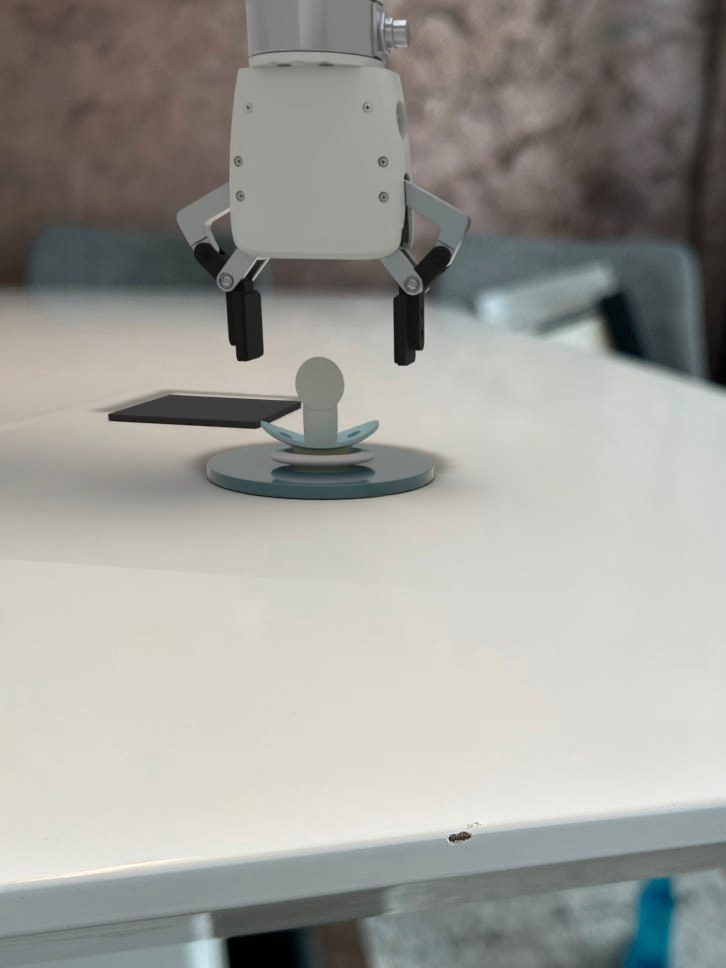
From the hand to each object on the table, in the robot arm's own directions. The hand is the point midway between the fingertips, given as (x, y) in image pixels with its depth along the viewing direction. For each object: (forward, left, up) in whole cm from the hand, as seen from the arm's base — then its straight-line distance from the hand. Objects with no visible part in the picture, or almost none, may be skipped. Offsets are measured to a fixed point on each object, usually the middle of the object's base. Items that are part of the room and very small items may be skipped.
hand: (327, 361), depth 67 cm
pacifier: (0, 0, -6) cm, 6 cm away
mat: (-16, +21, -7) cm, 28 cm away
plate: (0, 0, -7) cm, 7 cm away
